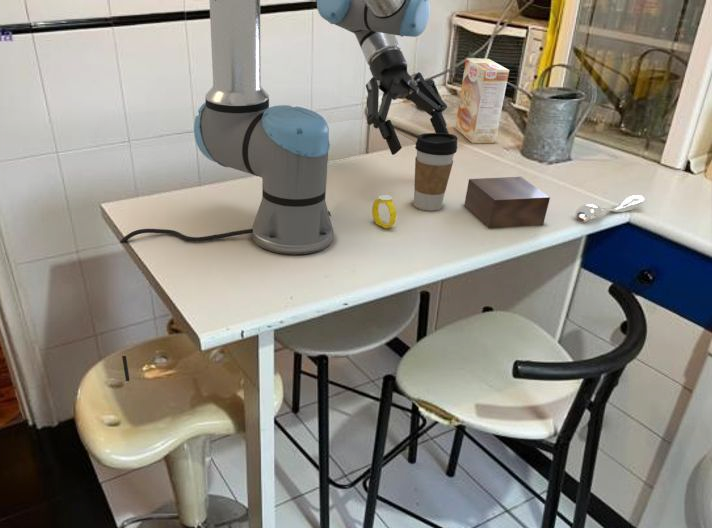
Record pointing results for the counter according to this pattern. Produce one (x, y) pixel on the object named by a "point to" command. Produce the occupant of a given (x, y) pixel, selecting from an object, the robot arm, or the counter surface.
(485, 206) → the walnut block
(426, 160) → the coffee cup
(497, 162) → the counter surface
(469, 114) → the coffeecake box
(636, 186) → the counter surface
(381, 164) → the counter surface
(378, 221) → the watch
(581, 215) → the silver scoop
